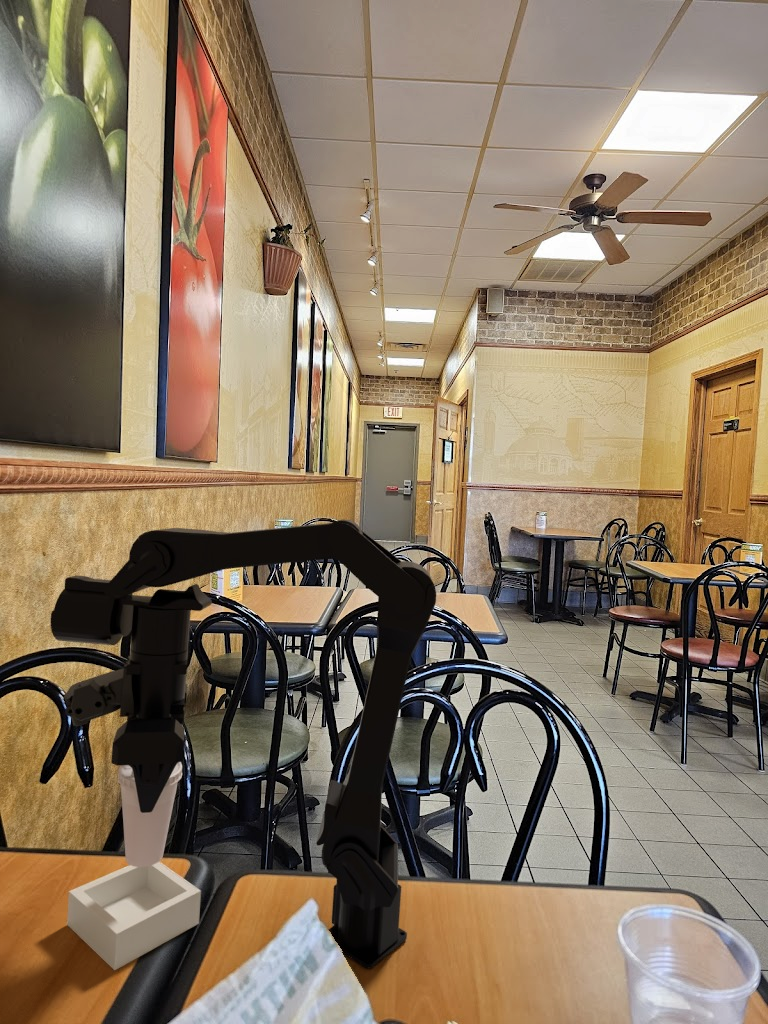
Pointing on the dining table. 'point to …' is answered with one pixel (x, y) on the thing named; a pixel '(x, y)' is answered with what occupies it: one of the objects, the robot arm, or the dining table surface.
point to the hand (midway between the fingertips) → (148, 796)
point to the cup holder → (132, 911)
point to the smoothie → (146, 819)
